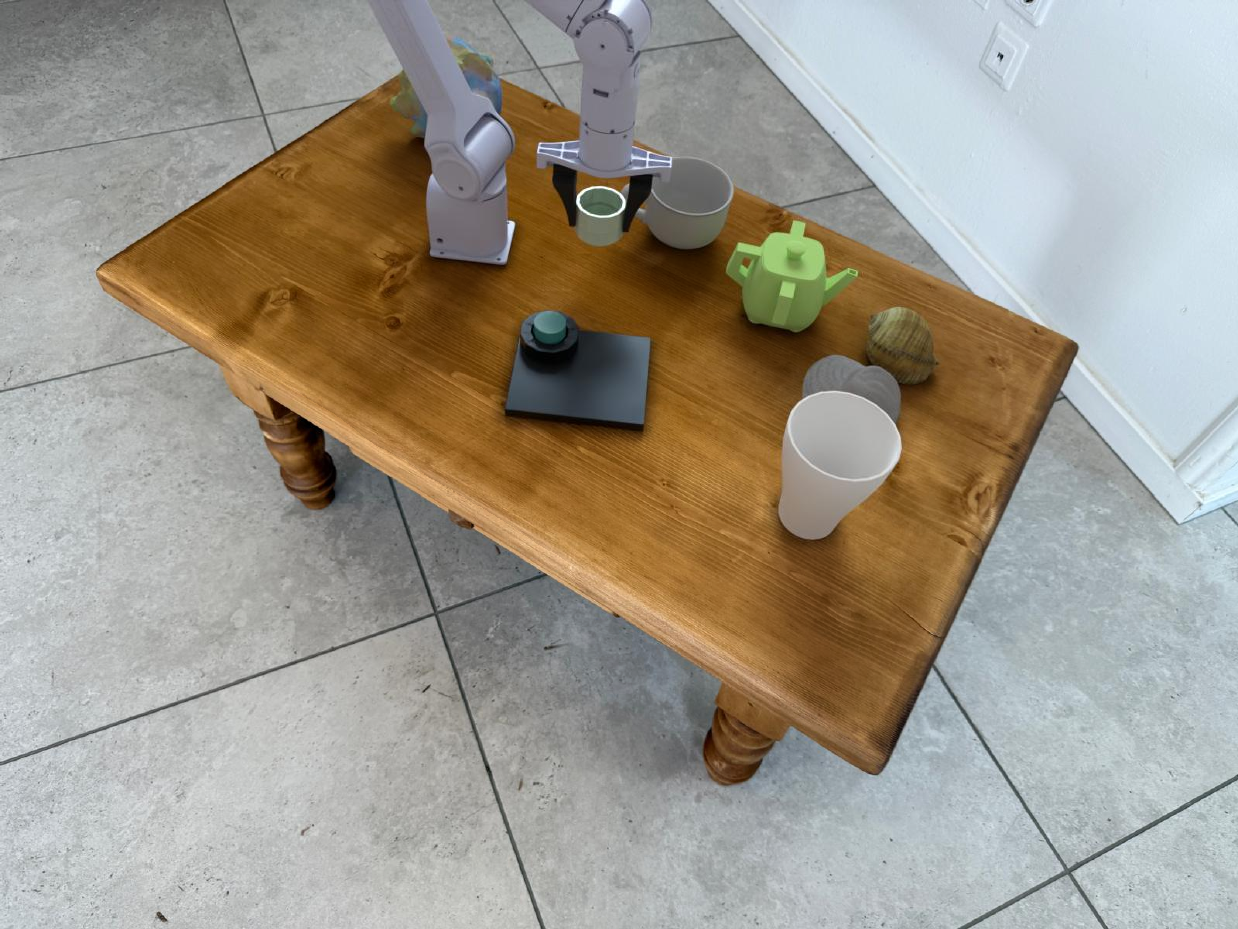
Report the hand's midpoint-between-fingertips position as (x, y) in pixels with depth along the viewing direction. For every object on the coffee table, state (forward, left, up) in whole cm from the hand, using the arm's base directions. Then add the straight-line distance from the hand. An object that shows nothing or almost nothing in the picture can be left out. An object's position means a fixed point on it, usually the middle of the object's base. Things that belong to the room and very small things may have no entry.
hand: (599, 223), depth 102 cm
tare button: (-4, -13, -6) cm, 14 cm away
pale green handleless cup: (0, 0, -1) cm, 1 cm away
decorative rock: (-23, +26, -9) cm, 36 cm away
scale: (0, -17, -8) cm, 19 cm away
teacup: (+9, +10, -9) cm, 16 cm away
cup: (+25, -32, -9) cm, 41 cm away
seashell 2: (+37, -8, -9) cm, 39 cm away
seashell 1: (+30, -18, -9) cm, 36 cm away
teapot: (+23, -2, -9) cm, 24 cm away
